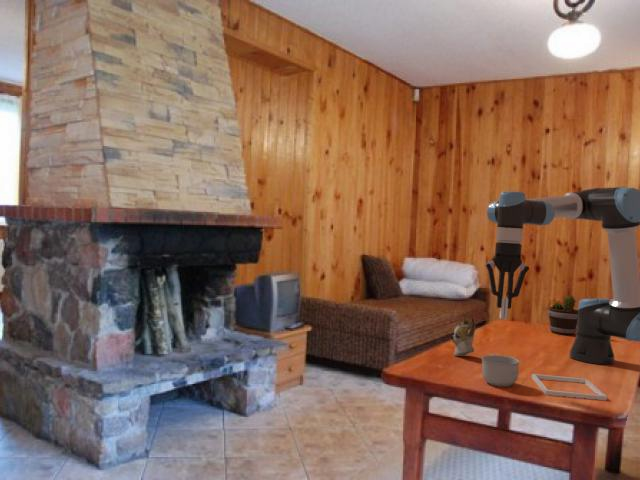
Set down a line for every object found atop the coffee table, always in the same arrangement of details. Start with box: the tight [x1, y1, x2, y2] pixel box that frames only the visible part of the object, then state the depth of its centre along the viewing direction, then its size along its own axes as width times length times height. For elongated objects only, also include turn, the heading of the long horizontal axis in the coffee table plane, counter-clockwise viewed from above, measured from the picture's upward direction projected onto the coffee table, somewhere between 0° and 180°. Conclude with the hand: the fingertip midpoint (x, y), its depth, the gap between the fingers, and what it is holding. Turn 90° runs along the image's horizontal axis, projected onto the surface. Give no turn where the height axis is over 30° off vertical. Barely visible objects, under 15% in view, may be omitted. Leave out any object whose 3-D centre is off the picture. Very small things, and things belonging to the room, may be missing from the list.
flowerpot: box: [546, 293, 578, 336], centre depth 265 cm, size 14×15×20 cm
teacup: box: [481, 353, 520, 388], centre depth 173 cm, size 14×11×8 cm
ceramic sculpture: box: [450, 313, 476, 357], centre depth 206 cm, size 11×9×15 cm
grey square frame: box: [531, 373, 608, 401], centre depth 170 cm, size 17×19×2 cm
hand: (503, 318), depth 172 cm, fingers closed
